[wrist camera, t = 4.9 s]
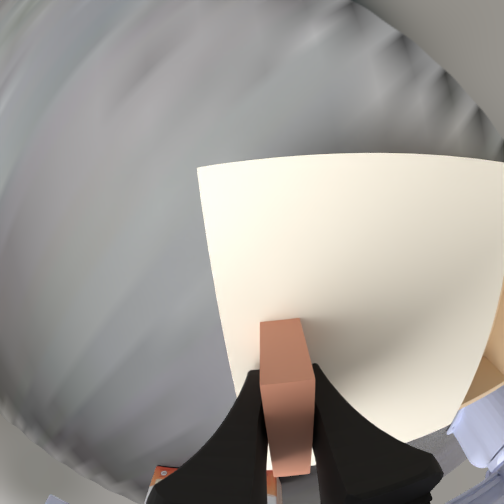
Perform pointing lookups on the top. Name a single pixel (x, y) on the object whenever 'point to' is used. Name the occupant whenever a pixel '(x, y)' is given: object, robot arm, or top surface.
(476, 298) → the lid
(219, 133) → the top surface
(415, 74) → the top surface
